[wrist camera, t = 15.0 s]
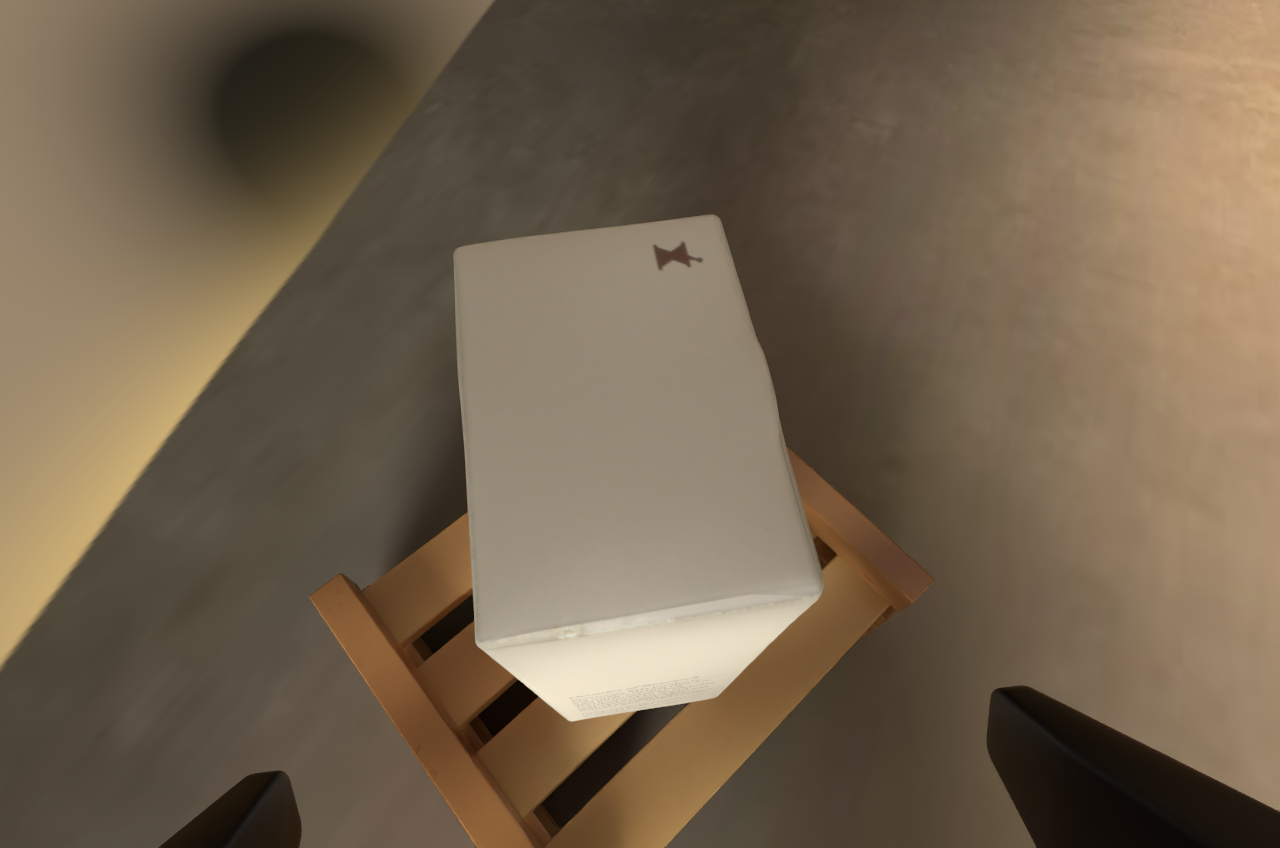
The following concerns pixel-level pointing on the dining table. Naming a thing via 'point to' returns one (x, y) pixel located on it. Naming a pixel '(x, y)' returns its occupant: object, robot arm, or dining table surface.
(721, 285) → the cosmetic box
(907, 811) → the dining table surface
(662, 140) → the dining table surface
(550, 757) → the rack
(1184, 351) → the dining table surface
